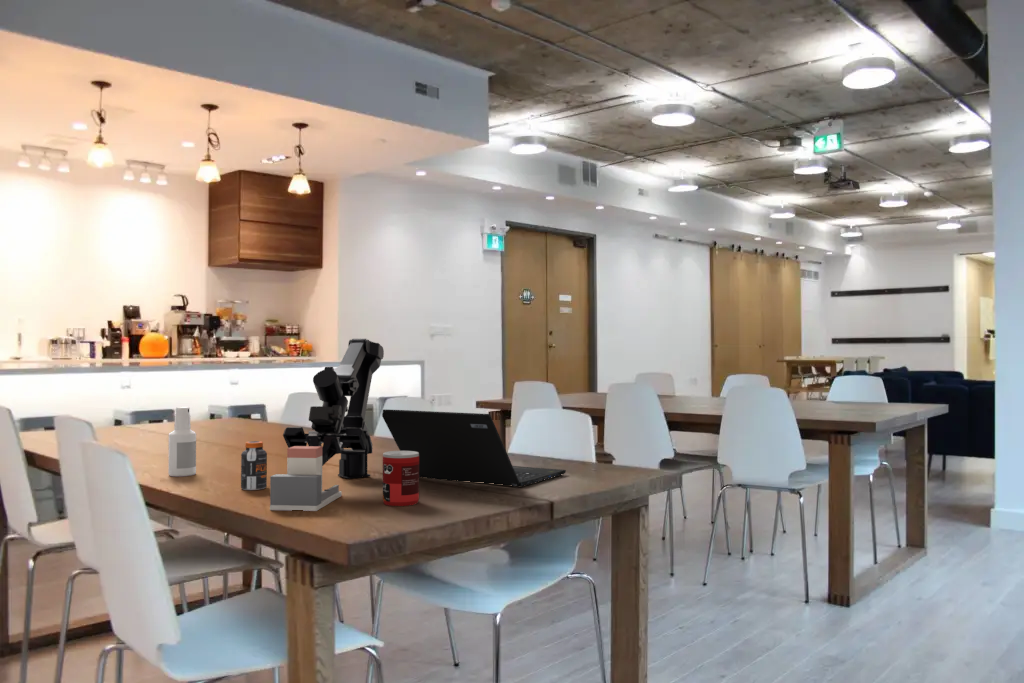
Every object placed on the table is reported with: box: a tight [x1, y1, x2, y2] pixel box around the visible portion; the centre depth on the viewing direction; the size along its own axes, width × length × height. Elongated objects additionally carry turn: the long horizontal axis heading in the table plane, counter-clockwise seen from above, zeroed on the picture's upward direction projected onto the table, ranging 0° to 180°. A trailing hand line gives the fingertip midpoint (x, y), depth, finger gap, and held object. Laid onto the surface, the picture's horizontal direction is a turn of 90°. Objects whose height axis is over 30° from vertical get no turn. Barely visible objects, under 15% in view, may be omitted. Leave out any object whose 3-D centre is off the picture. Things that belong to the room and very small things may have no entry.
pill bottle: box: [240, 440, 268, 491], centre depth 191 cm, size 6×6×11 cm
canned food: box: [382, 450, 420, 507], centre depth 173 cm, size 8×8×11 cm
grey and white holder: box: [269, 473, 343, 512], centre depth 174 cm, size 17×10×7 cm, turn 175°
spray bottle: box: [167, 406, 197, 478], centre depth 211 cm, size 7×7×18 cm
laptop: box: [381, 409, 567, 487], centre depth 204 cm, size 33×38×19 cm
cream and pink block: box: [286, 445, 323, 492], centre depth 172 cm, size 4×6×11 cm, turn 85°
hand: (316, 468), depth 180 cm, fingers closed
